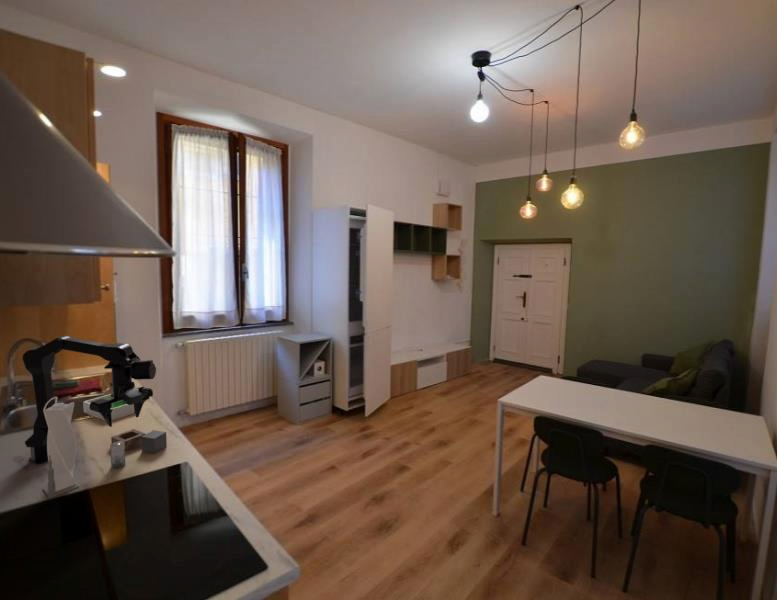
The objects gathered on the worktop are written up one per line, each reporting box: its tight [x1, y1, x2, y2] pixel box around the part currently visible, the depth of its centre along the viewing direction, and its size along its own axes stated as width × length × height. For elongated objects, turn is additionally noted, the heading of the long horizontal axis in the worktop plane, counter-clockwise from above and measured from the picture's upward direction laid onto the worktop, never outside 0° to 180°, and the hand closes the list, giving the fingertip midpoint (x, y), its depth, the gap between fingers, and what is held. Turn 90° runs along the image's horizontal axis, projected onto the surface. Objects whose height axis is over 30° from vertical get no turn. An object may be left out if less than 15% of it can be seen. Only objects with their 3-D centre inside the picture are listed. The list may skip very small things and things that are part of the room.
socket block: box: [110, 428, 146, 453], centre depth 146 cm, size 8×8×4 cm
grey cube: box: [141, 430, 168, 455], centre depth 144 cm, size 6×6×6 cm
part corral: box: [82, 393, 135, 422], centre depth 177 cm, size 14×20×5 cm
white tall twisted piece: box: [43, 396, 80, 499], centre depth 118 cm, size 8×8×28 cm
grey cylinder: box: [109, 441, 126, 470], centre depth 132 cm, size 4×4×8 cm
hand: (124, 421), depth 139 cm, fingers open, 9 cm apart
